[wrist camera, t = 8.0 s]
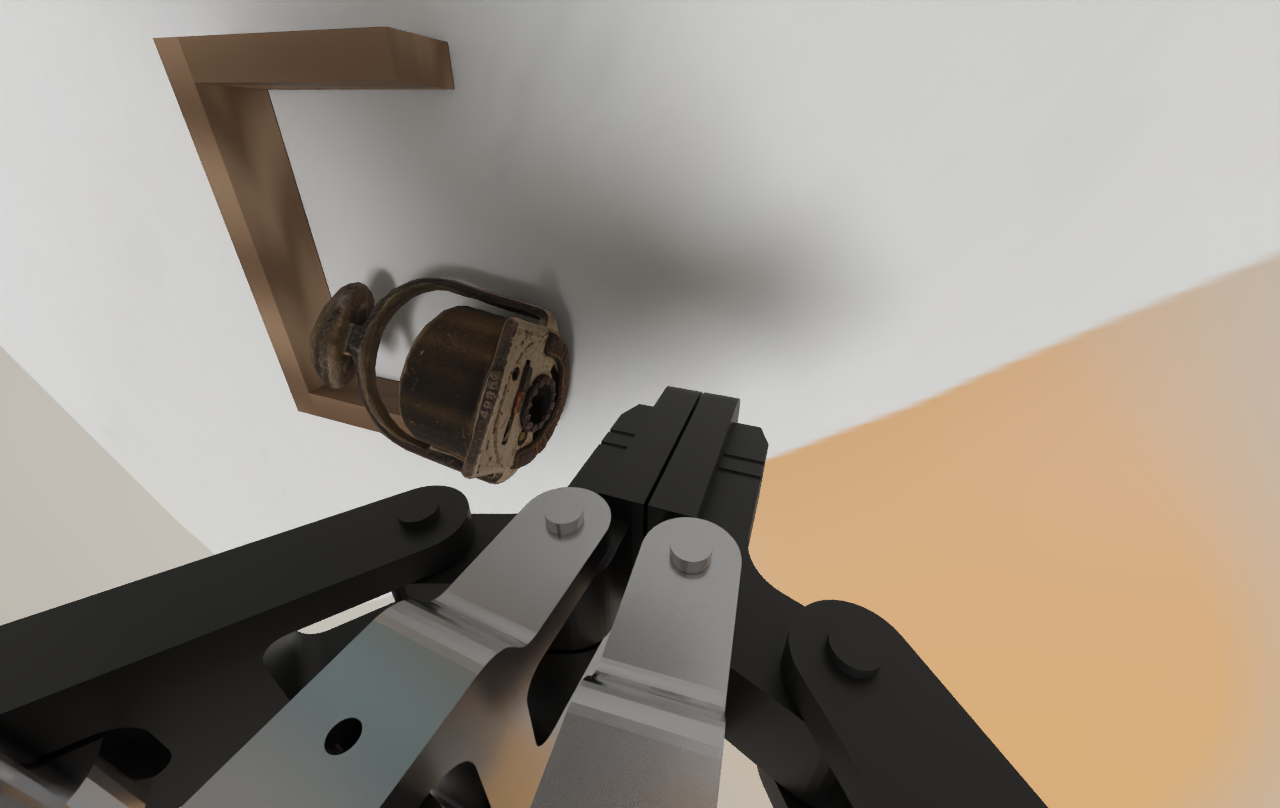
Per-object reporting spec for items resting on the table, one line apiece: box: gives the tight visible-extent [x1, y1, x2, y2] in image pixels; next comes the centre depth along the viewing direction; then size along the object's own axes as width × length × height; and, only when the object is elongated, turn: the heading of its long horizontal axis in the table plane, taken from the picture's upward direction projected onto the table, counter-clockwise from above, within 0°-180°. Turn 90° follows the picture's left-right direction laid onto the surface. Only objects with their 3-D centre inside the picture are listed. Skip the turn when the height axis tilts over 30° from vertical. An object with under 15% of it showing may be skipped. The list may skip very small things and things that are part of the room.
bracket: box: [153, 27, 454, 442], centre depth 23 cm, size 18×12×3 cm
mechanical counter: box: [309, 278, 569, 484], centre depth 22 cm, size 7×13×10 cm
